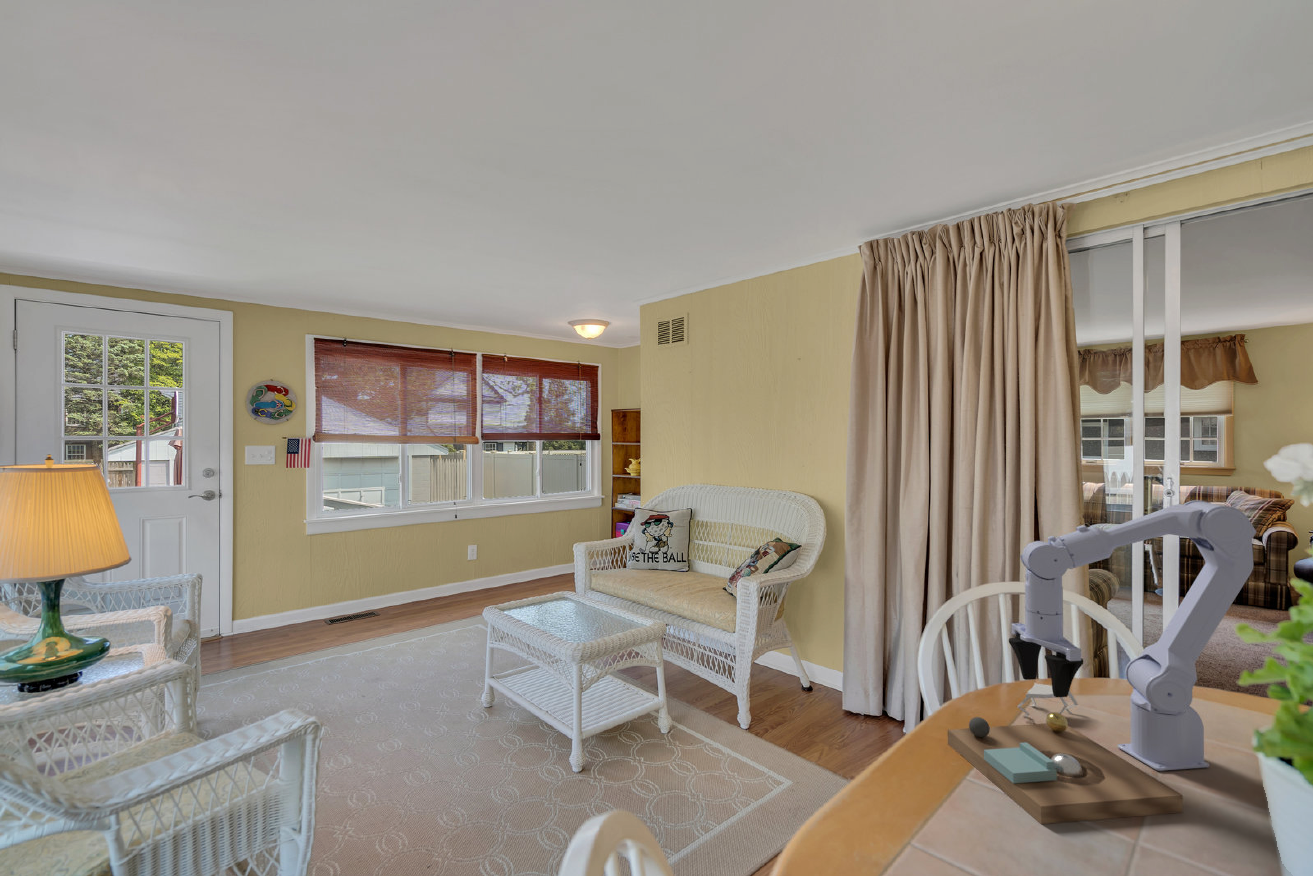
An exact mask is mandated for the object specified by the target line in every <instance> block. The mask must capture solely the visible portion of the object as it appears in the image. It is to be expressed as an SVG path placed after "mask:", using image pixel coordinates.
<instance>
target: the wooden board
mask: <svg viewBox="0 0 1313 876" xmlns="http://www.w3.org/2000/svg"><path fill="white" fill-rule="evenodd" d="M989 727H990V731H989V734H988V735H987V736H985V737H977V736H975V735H974V734H973V733H972V732H971V731H970V729H969V728H966V727H965V728H955V729H947V744H948V745H949V746H950V747H951V748H952V749H953V750H954V751H955V752H957V754H959V755H960V756H961V755H962V756H961V757H963V758H964V759H965V760H966V761H967V762H968V763H969V764H971V765H972V766H973V767H974V768H976V769H977V770H978V771H979V772H980V773H981V774H982V775H983V776H985V777H986V779H988V780H990V782H992V783H993V784H994V785H995V786H996V787H997V788H998V789H999V790H1001V791H1002V792H1003V793H1004V794H1006V796H1007V797H1009V798H1010V799H1011V800H1013V802H1015V803H1016V804H1017V805H1018V806H1019V807H1021V808H1022V809H1023V810H1024V811H1025V812H1026V813H1027V814H1028V815H1030V816H1031V817H1032V818H1033V819H1034V820H1036V821H1037V822H1038V823H1039V824H1040V825H1043V824H1044V825H1046V824H1047V825H1048V824H1049V825H1050V824H1058V823H1059V824H1060V823H1069V822H1070V823H1072V822H1084V821H1092V820H1093V821H1095V820H1096V821H1097V820H1106V819H1119V818H1129V817H1130V818H1132V817H1142V816H1143V817H1144V816H1145V817H1146V816H1153V815H1154V816H1155V815H1167V814H1178V813H1179V814H1181V813H1184V812H1183V810H1184V809H1183V807H1184V806H1183V802H1184V801H1183V799H1184V798H1183V797H1184V796H1183V794H1181V793H1180V792H1179V791H1177V790H1175V789H1174V788H1172V787H1170V786H1168V785H1166V784H1165V783H1163V782H1162V781H1160V780H1159V779H1156V777H1154V776H1152V775H1150V774H1149V773H1147V772H1145V771H1144V770H1143V769H1140V768H1139V767H1137V766H1135V765H1134V764H1132V763H1130V762H1129V761H1127V760H1125V759H1123V758H1122V757H1121V756H1119V755H1117V754H1116V753H1114V752H1113V751H1110V749H1107V748H1106V747H1104V746H1102V745H1101V744H1099V743H1098V742H1096V741H1094V740H1093V739H1091V738H1089V737H1088V736H1086V735H1084V734H1082V733H1081V732H1079V731H1078V730H1076V729H1074V728H1073V727H1072V726H1070V725H1068V726H1067V729H1066V730H1065V731H1063V732H1055V731H1053V730H1051V729H1050V728H1049V727H1048V725H1047V723H1046V722H1045V723H1032V724H1031V723H1030V724H1015V725H1000V726H999V725H998V726H989ZM1025 742H1027V743H1028V744H1029V745H1031V746H1032V747H1034V748H1035V749H1037V750H1038V751H1039V752H1041V753H1042V754H1044V755H1045V756H1047V757H1048V758H1049V759H1051V758H1052V757H1053V756H1054V755H1056V754H1059V753H1064V754H1068V755H1070V756H1072V757H1074V758H1075V759H1076V760H1077V761H1078V762H1079V764H1080V765H1081V767H1082V771H1083V775H1082V778H1072V777H1066V776H1062V775H1059V774H1057V780H1052V781H1038V782H1025V783H1012V782H1011V781H1010V780H1009V779H1007V778H1006V777H1005V776H1004V775H1003V774H1001V773H1000V772H999V771H998V770H996V769H995V768H994V767H993V766H992V765H990V764H989V763H988V762H987V761H985V760H984V750H989V749H1004V748H1018V747H1020V743H1025Z"/></svg>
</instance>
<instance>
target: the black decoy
mask: <svg viewBox="0 0 1313 876" xmlns="http://www.w3.org/2000/svg"><path fill="white" fill-rule="evenodd" d="M968 727H969V729H970V731H971V732H972V733H973V734H974V735H975V736H977V737H985V736H987V735H988V734H989V731H990V727H991V726H990V723H988V721H986V719H984V718H983V717H980V716H976V717H973V718H971V719H970V721H969V722H968Z"/></svg>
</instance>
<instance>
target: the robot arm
mask: <svg viewBox="0 0 1313 876" xmlns="http://www.w3.org/2000/svg"><path fill="white" fill-rule="evenodd" d="M1075 529H1076V530H1075V531H1073V532H1069V533H1066V534H1063V535H1059V536H1057V537H1056V536H1054V535H1050V536H1048V537H1047V541H1041V540H1035V541H1032V542H1030V543H1028V544H1027V545H1026V546H1025V547H1024V548H1023V550H1022V553H1021V554H1020V561H1021V563H1022V565H1023V566H1024V567H1025V575H1024V577H1025V582H1024V617H1025V619H1024V621H1025V623H1022V622H1019V623H1011V634H1012V635H1015V636H1014V637H1009V638H1008V643H1009V645H1010V646H1011V648H1012V650H1013V652H1014V654H1015V656H1016V659H1017V661H1018V666H1019V668H1020V673H1021V676H1022V679H1024V680H1025V681H1028V680H1029V681H1030V680H1032V681H1033V680H1036V679H1037V676H1038V663H1039V658H1040V657H1039V656H1040V652H1041V650H1042V647H1043V648H1045V649H1048V650H1050V651H1051V652H1053V653H1055V654H1046V655H1044V659H1045V661H1046V663H1047V666H1048V669H1049V672H1050V673H1049V674H1050V679H1051V680H1050V681H1051V685H1052V691H1053V694H1054V696H1055V697H1056V698H1060V697H1062V698H1068V697H1069V696H1068V693H1069V690H1070V689H1071V685H1072V683H1073V680H1074V678H1075V676H1076V674H1077V672H1078V671H1079V670H1080V668H1081V667H1082V666H1083V664H1084V659H1083V658H1082V649H1081V648H1080V647H1077V646H1076V645H1074V644H1073V643H1072V642H1071V641H1070V640H1068V639H1067V638H1065V637H1064V587H1063V576H1064V575H1065V574H1066V572H1067V570H1068V569H1069V570H1073V569H1075V568H1079V567H1082V566H1086V565H1089V564H1093V563H1095V562H1098V561H1103V560H1105V559H1109V558H1110V557H1111V556H1112V554H1113V552H1114V550H1115V549H1116V548H1119V547H1120V548H1121V547H1124V546H1128V545H1132V544H1135V543H1139V542H1143V541H1146V540H1151V539H1154V538H1158V537H1164V536H1168V535H1174V536H1179V537H1185V538H1189V540H1191V541H1192V542H1193V543H1194V544H1195V545H1196V547H1197V549H1198V551H1199V552H1200V554H1201V557H1203V560H1204V562H1205V563H1204V565H1203V566H1202V568H1201V570H1200V572H1199V574H1198V575H1197V577H1196V578H1195V580H1194V581H1193V583H1192V585H1191V586H1190V588H1189V590H1188V591H1187V593H1186V594H1185V597H1184V598H1183V600H1182V601H1181V603H1180V604H1179V606H1178V607H1177V610H1176V611H1175V612H1174V614H1173V616H1172V617H1171V619H1170V620H1169V622H1168V624H1167V626H1166V628H1165V629H1164V630H1163V632H1162V633H1161V635H1160V637H1159V638H1158V641H1157V642H1155V643H1153V644H1150V645H1148V646H1146V647H1145V648H1144V649H1143V651H1142V652H1141V654H1140V655H1138V656H1137V657H1134V658H1133V659H1130V661H1129V662H1128V663H1127V665H1126V666H1125V668H1124V671H1125V672H1124V674H1125V678H1126V681H1127V683H1128V684H1129V685H1130V686H1131V687H1132V693H1131V695H1130V743H1119V744H1117V748H1118V749H1120V750H1122V751H1123V752H1125V753H1127V754H1129V755H1130V756H1132V757H1133V758H1135V759H1136V760H1138V761H1140V762H1142V763H1144V764H1145V765H1147V766H1148V767H1151V768H1152V769H1154V770H1156V771H1159V772H1162V771H1174V770H1176V771H1178V770H1187V769H1200V768H1209V767H1210V764H1209V763H1208V762H1206V761H1205V731H1204V730H1205V728H1204V727H1205V726H1204V723H1203V720H1202V718H1201V716H1200V714H1199V713H1198V712H1197V710H1195V709H1194V708H1193V707H1192V706H1191V704H1192V702H1193V698H1194V697H1193V689H1194V686H1195V684H1196V683H1197V681H1198V676H1197V675H1198V674H1197V668H1196V663H1197V662H1196V661H1197V660H1198V658H1199V656H1200V655H1201V654H1202V652H1203V651H1204V649H1205V647H1206V646H1207V644H1208V642H1209V641H1210V640H1211V638H1212V636H1213V635H1214V633H1215V631H1216V629H1217V628H1218V626H1220V623H1221V622H1222V620H1223V619H1224V617H1225V615H1226V614H1227V612H1228V611H1229V609H1230V607H1231V605H1232V604H1233V602H1234V601H1235V599H1236V598H1237V596H1238V594H1239V593H1240V591H1241V590H1242V588H1243V587H1244V585H1245V583H1246V582H1247V580H1248V579H1249V577H1250V575H1251V574H1252V571H1253V569H1254V553H1253V551H1254V550H1253V538H1254V537H1255V535H1256V534H1257V530H1256V529H1255V527H1254V526H1253V524H1252V522H1251V520H1250V519H1249V518H1248V516H1247V515H1246V514H1245V513H1244V512H1243V511H1242V510H1241V509H1239V508H1237V507H1233V506H1229V505H1219V504H1216V503H1210V502H1209V501H1208V502H1207V501H1205V500H1199V499H1197V500H1196V499H1195V500H1189V501H1187V502H1185V503H1184V504H1182V503H1179V504H1172V505H1170V506H1168V507H1167V506H1166V507H1165V508H1163V509H1159V510H1157V511H1154V512H1151V513H1148V514H1145V515H1142V516H1138V517H1137V518H1134V519H1131V520H1128V521H1125V522H1123V523H1120V524H1117V525H1113V526H1112V527H1109V528H1106V529H1101V528H1100V527H1097V526H1093V525H1091V526H1086V525H1085V524H1081V525H1079V526H1076V527H1075Z"/></svg>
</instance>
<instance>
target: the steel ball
mask: <svg viewBox="0 0 1313 876" xmlns="http://www.w3.org/2000/svg"><path fill="white" fill-rule="evenodd" d="M1051 760H1052V761H1054V769H1056V770H1057V774H1059V775H1062V776H1066V777H1072V778H1082V775H1083V771H1082V767H1081V765H1080V764H1079V762H1078V761H1077V760H1076V759H1075V758H1074V757H1072V756H1070V755H1068V754H1064V753H1059V754H1056V755H1054V756H1053V757H1052V758H1051Z"/></svg>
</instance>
